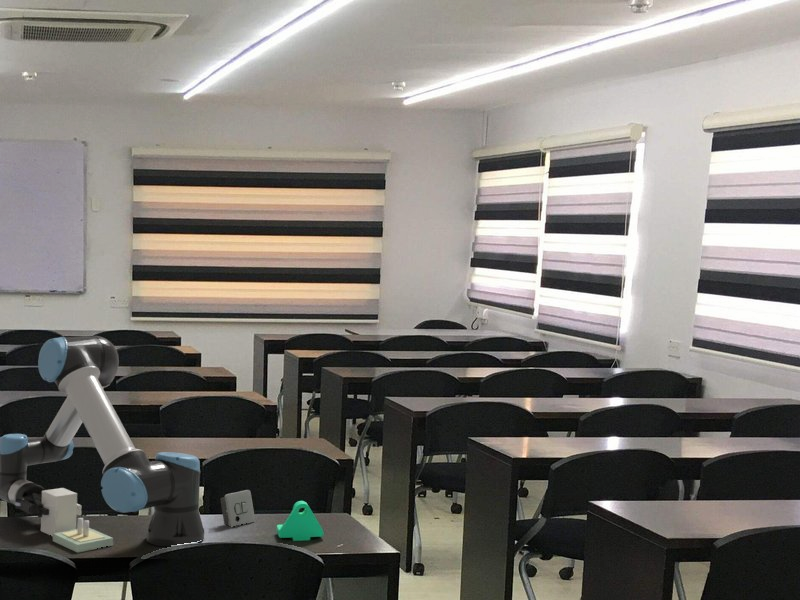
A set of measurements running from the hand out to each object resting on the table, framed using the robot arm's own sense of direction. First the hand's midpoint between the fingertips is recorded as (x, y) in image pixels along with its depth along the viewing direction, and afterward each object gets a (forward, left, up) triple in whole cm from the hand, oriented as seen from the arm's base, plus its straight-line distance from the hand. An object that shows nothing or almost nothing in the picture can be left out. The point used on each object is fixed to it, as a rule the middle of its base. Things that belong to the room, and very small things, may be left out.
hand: (68, 512), depth 266 cm
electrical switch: (-30, -35, -7) cm, 47 cm away
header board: (-7, +3, -7) cm, 10 cm away
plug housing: (+5, -2, -7) cm, 8 cm away
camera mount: (-52, -33, -7) cm, 62 cm away
